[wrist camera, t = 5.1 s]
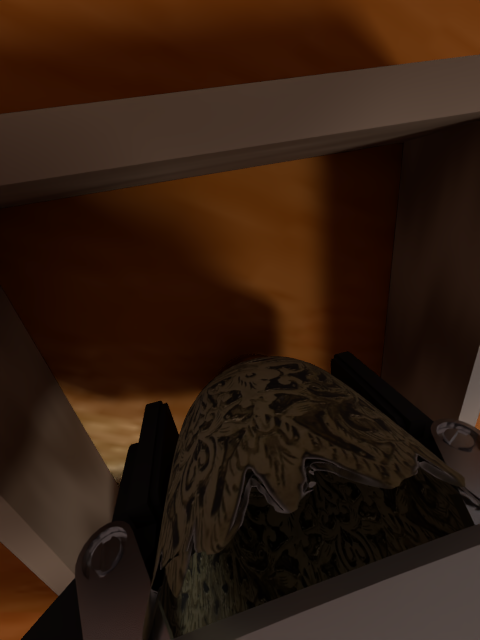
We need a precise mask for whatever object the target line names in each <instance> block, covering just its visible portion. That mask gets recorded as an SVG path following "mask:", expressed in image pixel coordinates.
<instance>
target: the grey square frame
mask: <svg viewBox="0 0 480 640" xmlns="http://www.w3.org/2000/svg"><path fill="white" fill-rule="evenodd" d="M401 142H404V146H403V156H402V167H401V177H400V187H399V197H398V208H397V218H396V228H395V238H394V249H393V259H392V269H391V279H390V290H389V300H388V310H387V320H386V331H385V341H384V351H383V361H382V372H381V378H382V379H383V380H384V381H386V382H387V383H388V384H389V385H390V386H392V387H393V388H394V389H395V390H396V391H398V392H399V393H400V394H401V395H402V396H404V397H405V398H406V399H407V400H408V401H410V402H411V403H412V404H413V405H415V406H416V407H417V408H418V409H419V410H421V411H422V412H423V413H424V414H425V415H427V416H428V417H429V418H430V419H431V420H433V421H434V422H435V421H436V420H439V419H448V418H449V419H456V420H460V421H463V422H466V423H468V424H470V425H472V426H474V427H475V424H476V421H477V418H478V415H479V412H480V55H473V56H465V57H457V58H449V59H441V60H433V61H425V62H417V63H408V64H400V65H392V66H384V67H376V68H368V69H360V70H352V71H344V72H336V73H328V74H320V75H312V76H303V77H295V78H287V79H279V80H271V81H263V82H255V83H247V84H239V85H231V86H223V87H215V88H207V89H199V90H190V91H182V92H174V93H166V94H158V95H150V96H142V97H134V98H126V99H118V100H110V101H102V102H94V103H86V104H77V105H69V106H61V107H53V108H45V109H37V110H29V111H21V112H13V113H5V114H0V208H6V207H12V206H18V205H24V204H30V203H36V202H42V201H49V200H55V199H61V198H67V197H73V196H79V195H85V194H91V193H97V192H103V191H109V190H115V189H121V188H127V187H134V186H140V185H146V184H152V183H158V182H164V181H170V180H176V179H182V178H188V177H194V176H200V175H206V174H212V173H219V172H225V171H231V170H237V169H243V168H249V167H255V166H261V165H267V164H273V163H279V162H285V161H291V160H297V159H304V158H310V157H316V156H322V155H328V154H334V153H340V152H346V151H352V150H358V149H364V148H370V147H376V146H382V145H389V144H395V143H401ZM118 492H119V486H118V485H117V483H116V481H115V480H114V478H113V476H112V474H111V473H110V471H109V469H108V468H107V466H106V464H105V463H104V461H103V459H102V458H101V456H100V454H99V452H98V451H97V449H96V447H95V446H94V444H93V442H92V441H91V439H90V437H89V435H88V434H87V432H86V430H85V429H84V427H83V425H82V424H81V422H80V420H79V418H78V417H77V415H76V413H75V412H74V410H73V408H72V407H71V405H70V403H69V401H68V400H67V398H66V396H65V395H64V393H63V391H62V390H61V388H60V386H59V384H58V383H57V381H56V379H55V378H54V376H53V374H52V373H51V371H50V369H49V367H48V366H47V364H46V362H45V361H44V359H43V357H42V356H41V354H40V352H39V350H38V349H37V347H36V345H35V344H34V342H33V340H32V339H31V337H30V335H29V334H28V332H27V330H26V328H25V327H24V325H23V323H22V322H21V320H20V318H19V317H18V315H17V313H16V311H15V310H14V308H13V306H12V305H11V303H10V301H9V300H8V298H7V296H6V294H5V293H4V291H3V289H2V288H1V286H0V542H1V543H2V544H4V545H5V546H6V547H7V548H8V549H9V550H10V551H11V552H12V553H13V554H14V555H15V556H16V557H17V558H19V559H20V560H21V561H22V562H23V563H24V564H25V565H26V566H27V567H28V568H29V569H30V570H31V571H32V572H34V573H35V574H36V575H37V576H38V577H39V578H40V579H41V580H42V581H43V582H44V583H45V584H46V585H47V586H49V587H50V588H51V589H52V590H53V591H54V592H55V593H56V594H57V595H58V596H59V595H60V594H61V593H62V592H63V591H64V590H65V588H66V587H67V586H68V585H69V584H70V583H71V582H72V580H73V579H74V578H75V565H76V562H77V559H78V556H79V553H80V552H81V550H82V548H83V546H84V544H85V543H86V542H87V541H88V539H89V538H90V537H91V536H92V535H93V534H94V533H95V532H96V531H97V530H98V529H99V528H101V527H102V526H104V525H106V524H107V523H110V522H112V518H113V514H114V509H115V505H116V501H117V496H118Z"/></svg>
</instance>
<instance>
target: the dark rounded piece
mask: <svg viewBox="0 0 480 640" xmlns="http://www.w3.org/2000/svg"><path fill="white" fill-rule="evenodd" d="M450 484H451V485H454V486H457V487H460V488H461V489H462V490H463V491H465V492H466V493H467V494H468V495H469V496H470V497H472V498H473V499H474V500H475V501H477V503H478V504H479V507H480V501H479V500H480V498H478V497H477V496H476V495H474V494H473V493H472V492H470V491H469V490H468V489H467V488H466V487H465V478H464V477H463V476H462V475H461V474H460V473H458V472H457V471H455V470H454V469H452V468H451V467H449V466H448V465H447V464H445V463H444V462H443V461H442V460H440V459H439V458H438V457H437V456H436V455H435V454H433V453H432V452H431V451H430V450H428V449H427V448H426V447H425V446H424V445H422V444H421V443H420V442H419V441H417V440H416V439H415V438H414V437H412V436H411V435H410V434H409V433H407V432H406V431H405V430H404V429H402V428H401V427H400V426H399V425H397V424H396V423H395V422H394V421H392V420H391V419H390V418H389V417H387V416H386V415H385V414H384V413H382V412H381V411H380V410H379V409H377V408H376V407H375V406H374V405H372V404H371V403H370V402H368V401H367V400H366V399H365V398H363V397H362V396H361V395H359V394H358V393H357V392H356V391H354V390H353V389H351V388H350V387H349V386H347V385H346V384H345V383H343V382H342V381H340V380H339V379H337V378H336V377H334V376H333V375H331V374H330V373H328V372H326V371H324V370H323V369H321V368H319V367H317V366H315V365H313V364H311V363H308V362H305V361H302V360H298V359H294V358H289V357H280V356H270V357H269V356H266V355H262V354H245V355H242V356H239V357H236V358H234V359H232V360H231V361H229V362H228V363H226V364H225V365H224V366H223V367H222V368H221V370H220V371H219V372H218V374H217V375H216V377H215V378H214V379H213V380H212V381H211V382H210V383H209V384H208V385H207V386H206V387H205V388H204V389H203V390H202V391H201V392H200V394H199V395H198V396H197V398H196V400H195V401H194V403H193V404H192V406H191V407H190V409H189V411H188V413H187V415H186V418H185V420H184V423H183V425H182V428H181V431H180V435H179V438H178V442H177V445H176V449H175V454H174V458H173V463H172V468H171V474H170V479H169V485H168V490H167V496H166V502H165V507H164V513H163V519H162V525H161V531H160V537H159V543H158V549H157V555H156V561H155V567H154V573H153V579H152V584H151V588H152V585H153V582H154V584H155V587H156V590H157V591H153V590H152V589H150V594H149V599H148V603H147V608H146V613H145V619H144V624H143V632H142V639H143V640H148V638H149V636H150V633H151V630H152V627H153V622H154V617H155V613H156V609H157V606H158V601H159V600H160V601H161V604H162V606H163V609H164V612H165V615H166V618H167V620H168V623H169V626H170V629H171V632H172V634H173V637H174V639H175V638H177V637H180V636H181V635H185V634H187V633H189V632H192V631H194V630H197V629H199V628H202V627H204V626H207V625H209V624H212V623H214V622H217V621H220V620H222V619H225V618H228V617H230V616H233V615H235V614H238V613H241V612H243V611H246V610H248V609H251V608H254V607H256V606H259V605H262V604H264V603H267V602H269V601H272V600H275V599H277V598H280V597H283V596H285V595H288V594H290V593H293V592H296V591H298V590H301V589H304V588H306V587H309V586H312V585H314V584H317V583H320V582H322V581H325V580H328V579H330V578H333V577H336V576H338V575H341V574H344V573H346V572H349V571H352V570H354V569H357V568H360V567H362V566H365V565H368V564H370V563H373V562H376V561H378V560H381V559H384V558H386V557H389V556H392V555H394V554H397V553H400V552H403V551H405V550H408V549H411V548H413V547H416V546H419V545H422V544H424V543H427V542H430V541H432V540H435V539H438V538H441V537H443V536H446V535H449V534H451V533H454V532H457V531H460V530H462V529H465V527H464V525H463V522H462V520H461V518H460V516H459V513H458V511H457V509H456V506H455V504H454V502H453V500H452V497H451V495H453V494H460V493H459V492H458V491H456V490H455V489H454V488H453V487H452V486H451V485H450ZM468 491H469V492H468ZM472 494H473V495H474V496H475V497H477V498H478V499H479V500H478V499H476V498H475V497H474V496H473V495H472ZM463 497H464V496H463ZM467 500H468V499H467ZM470 502H471V501H470ZM472 503H473V502H472ZM473 504H474V503H473ZM476 506H477V505H476ZM153 592H156V593H158V594H156V593H153Z"/></svg>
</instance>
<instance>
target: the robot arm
mask: <svg viewBox="0 0 480 640" xmlns="http://www.w3.org/2000/svg"><path fill="white" fill-rule="evenodd" d="M331 375H333V376H334V377H336V378H337V379H339V380H340V381H342V382H343V383H345V384H346V385H347V386H349V387H350V388H351V389H353V390H354V391H356V392H357V393H358V394H359V395H361V396H362V397H363V398H365V399H366V400H367V401H368V402H370V403H371V404H372V405H374V406H375V407H376V408H377V409H379V410H380V411H381V412H382V413H384V414H385V415H386V416H387V417H389V418H390V419H391V420H392V421H394V422H395V423H396V424H397V425H399V426H400V427H401V428H402V429H404V430H405V431H406V432H407V433H409V434H410V435H411V436H412V437H414V438H415V439H416V440H417V441H419V442H420V443H421V444H422V445H424V446H425V447H426V448H427V449H428V450H430V451H431V452H432V453H433V454H435V455H436V456H437V457H438V458H439V459H440V460H442V461H443V462H444V463H445V464H447V465H448V466H449V467H451V468H452V469H454V470H455V471H457V472H458V473H460V474H461V475H462V476H463V477H464V478H465V487H466V488H467V489H468V490H469V491H470V492H472V493H473V494H474V495H476V496H477V497H478V498H480V430H478V429H477V428H476V427H474V426H472V425H470V424H468V423H466V422H463V421H460V420H456V419H449V418H448V419H439V420H436V421H435V422H434V421H433V420H431V419H430V418H429V417H428V416H427V415H425V414H424V413H423V412H422V411H421V410H419V409H418V408H417V407H416V406H415V405H413V404H412V403H411V402H410V401H408V400H407V399H406V398H405V397H404V396H402V395H401V394H400V393H399V392H398V391H396V390H395V389H394V388H393V387H392V386H390V385H389V384H388V383H387V382H386V381H384V380H383V379H382V378H380V377H379V376H378V375H377V374H375V373H374V372H373V371H372V370H371V369H369V368H368V367H367V366H366V365H365V364H363V363H362V362H361V361H360V360H359V359H357V358H356V357H355V356H354V355H353V354H351V353H350V352H348V351H347V352H343V353H339V354H335V355H334V358H333V359H331ZM178 438H179V434H178V431H177V428H176V425H175V423H174V420H173V417H172V414H171V412H170V409H169V406H168V404H167V403H164V404H163V403H162V401H158V402H154V403H150V404H147V405H146V407H145V412H144V418H143V423H142V428H141V433H140V438H139V443H135V444H132V445H130V447H129V450H128V453H127V458H126V462H125V466H124V471H123V475H122V479H121V483H120V488H119V492H118V496H117V501H116V505H115V509H114V514H113V518H112V522H110V523H107V524H106V525H104V526H102V527H101V528H99V529H98V530H97V531H96V532H95V533H94V534H93V535H92V536H91V537H90V538H89V539H88V541H87V542H86V543H85V544H84V546H83V548H82V550H81V552H80V553H79V556H78V559H77V562H76V565H75V578H74V579H73V580H72V582H71V583H70V584H69V585H68V586H67V587H66V588H65V590H64V591H63V592H62V593H61V594H60V595H59V596H58V598H57V599H56V600H55V601H54V602H53V603H52V604H51V606H50V607H49V608H48V609H47V610H46V611H45V612H44V614H43V615H42V616H41V617H40V618H39V619H38V620H37V622H36V623H35V624H34V625H33V626H32V627H31V628H30V630H29V631H28V632H27V633H26V634H25V635H24V636H23V638H22V639H21V640H143V639H142V632H143V624H144V619H145V613H146V608H147V603H148V599H149V594H150V589H152V590H153V591H157V590H156V587H155V584H154V582H153V585H152V588H151V584H152V579H153V573H154V567H155V561H156V555H157V549H158V543H159V537H160V531H161V525H162V519H163V513H164V507H165V502H166V496H167V490H168V485H169V479H170V474H171V468H172V463H173V458H174V454H175V449H176V445H177V442H178ZM450 485H451V484H450ZM451 486H452V487H453V488H454V489H455V490H456V491H458V492H459V493H460V494H453V495H451V497H452V500H453V502H454V504H455V506H456V509H457V511H458V513H459V516H460V518H461V520H462V522H463V525H464V527H465V529H462V530H460V531H457V532H454V533H451V534H449V535H446V536H443V537H441V538H438V539H435V540H432V541H430V542H427V543H424V544H422V545H419V546H416V547H413V548H411V549H408V550H405V551H403V552H400V553H397V554H394V555H392V556H389V557H386V558H384V559H381V560H378V561H376V562H373V563H370V564H368V565H365V566H362V567H360V568H357V569H354V570H352V571H349V572H346V573H344V574H341V575H338V576H336V577H333V578H330V579H328V580H325V581H322V582H320V583H317V584H314V585H312V586H309V587H306V588H304V589H301V590H298V591H296V592H293V593H290V594H288V595H285V596H283V597H280V598H277V599H275V600H272V601H269V602H267V603H264V604H262V605H259V606H256V607H254V608H251V609H248V610H246V611H243V612H241V613H238V614H235V615H233V616H230V617H228V618H225V619H222V620H220V621H217V622H214V623H212V624H209V625H207V626H204V627H202V628H199V629H197V630H194V631H192V632H189V633H187V634H185V635H181V636H180V637H177V638H175V639H174V637H173V634H172V632H171V629H170V626H169V623H168V620H167V618H166V615H165V612H164V609H163V606H162V604H161V601H160V600H159V601H158V606H157V609H156V613H155V617H154V622H153V627H152V630H151V633H150V636H149V638H148V640H480V507H479V504H478V503H477V501H475V500H474V499H473V498H472V497H470V496H469V495H468V494H467V493H466V492H465V491H463V490H462V489H461V488H460V487H457V486H454V485H451ZM469 491H468V492H469ZM473 494H472V495H473ZM474 495H473V496H474ZM463 496H464V497H463ZM474 497H475V496H474ZM477 497H475V498H476V499H478V498H477ZM467 499H468V500H467ZM478 500H479V499H478ZM470 501H471V502H470ZM479 501H480V500H479ZM472 502H473V503H474V504H473V503H472ZM476 505H477V506H476ZM153 593H156V592H153ZM156 594H158V593H156Z"/></svg>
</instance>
